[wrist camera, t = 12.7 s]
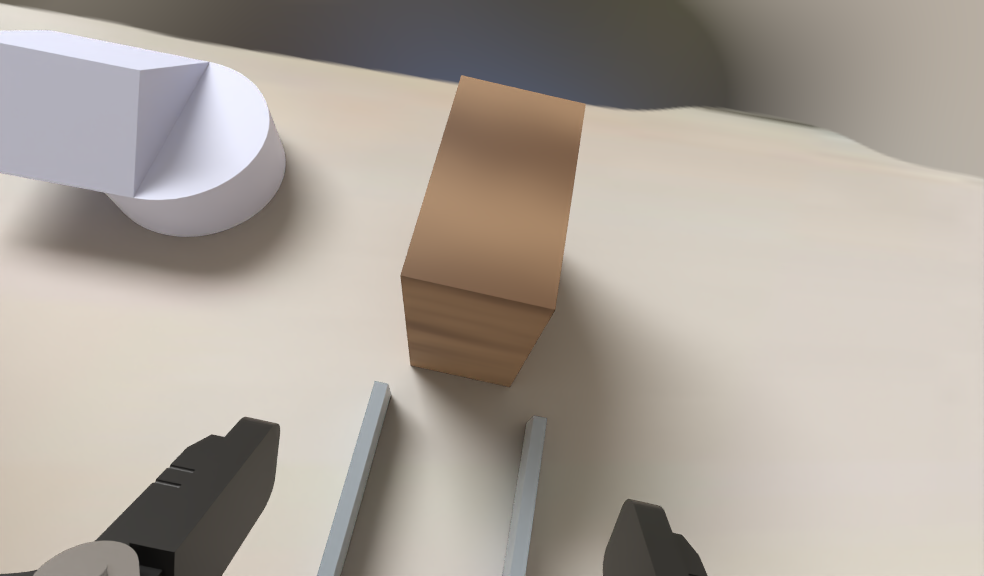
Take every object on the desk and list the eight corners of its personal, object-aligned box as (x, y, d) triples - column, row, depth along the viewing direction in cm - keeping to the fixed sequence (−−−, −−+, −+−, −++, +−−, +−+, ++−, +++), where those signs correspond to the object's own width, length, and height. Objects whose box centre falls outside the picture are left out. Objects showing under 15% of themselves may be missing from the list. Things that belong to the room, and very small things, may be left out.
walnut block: (509, 387, 25) (555, 309, 16) (410, 365, 25) (400, 275, 16) (536, 234, 29) (585, 104, 20) (451, 215, 29) (461, 75, 20)
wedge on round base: (0, 204, 26) (253, 251, 27) (-129, 107, 20) (201, 170, 21) (87, 80, 30) (306, 122, 31) (1, -33, 24) (275, 23, 24)
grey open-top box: (492, 744, 19) (498, 767, 17) (288, 703, 19) (273, 722, 17) (538, 426, 24) (547, 418, 23) (378, 391, 24) (374, 381, 22)
